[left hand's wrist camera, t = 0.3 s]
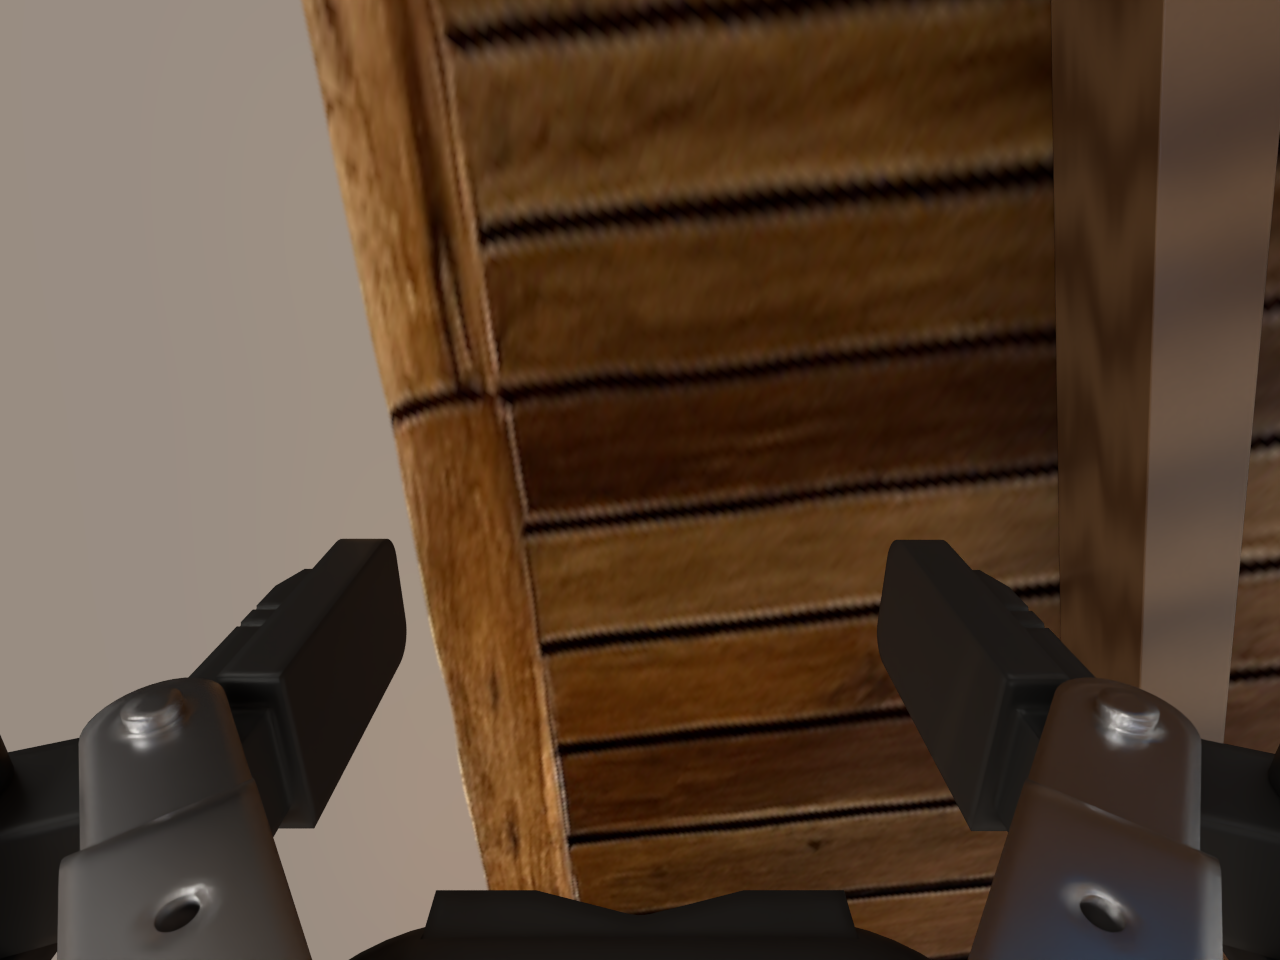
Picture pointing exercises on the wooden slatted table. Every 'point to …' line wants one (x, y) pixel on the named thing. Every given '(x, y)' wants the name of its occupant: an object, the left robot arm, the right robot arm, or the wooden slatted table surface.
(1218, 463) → the beam
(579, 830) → the wooden slatted table surface
